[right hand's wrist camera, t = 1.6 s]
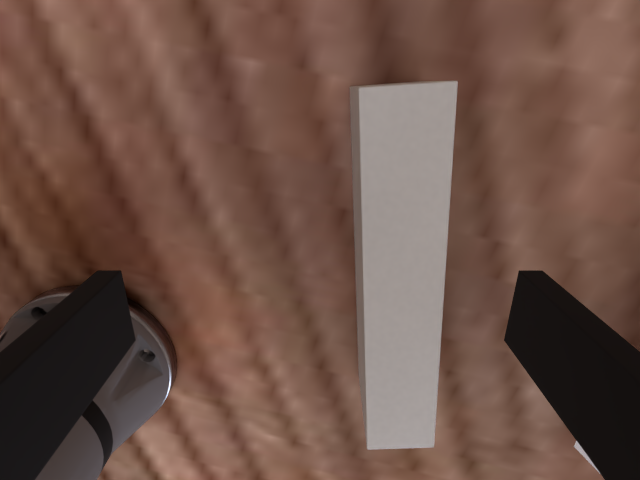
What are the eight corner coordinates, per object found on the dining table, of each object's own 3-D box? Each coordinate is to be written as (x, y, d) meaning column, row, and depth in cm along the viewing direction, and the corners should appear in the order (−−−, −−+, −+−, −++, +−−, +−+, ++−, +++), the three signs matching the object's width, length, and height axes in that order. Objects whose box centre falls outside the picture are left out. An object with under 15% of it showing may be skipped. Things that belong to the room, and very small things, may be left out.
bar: (412, 374, 38) (434, 447, 30) (358, 376, 38) (367, 449, 30) (422, 81, 28) (458, 80, 20) (349, 86, 28) (358, 87, 20)
